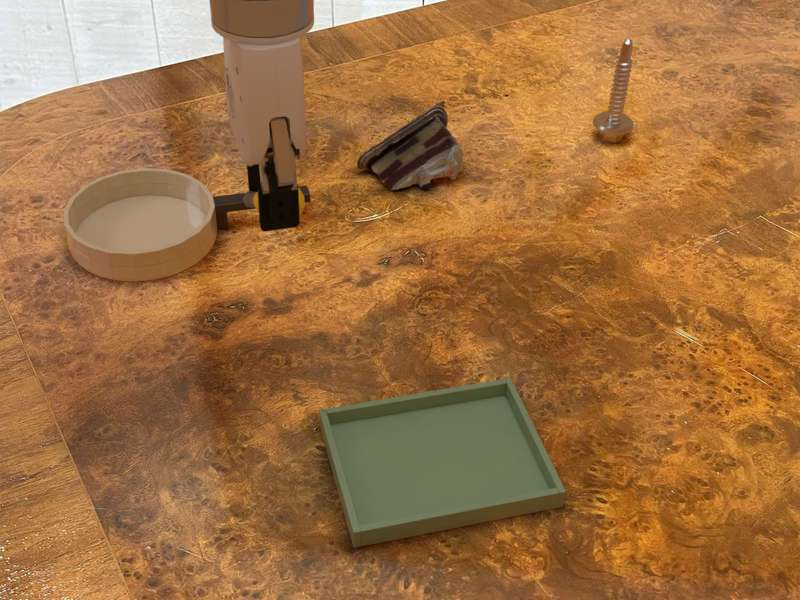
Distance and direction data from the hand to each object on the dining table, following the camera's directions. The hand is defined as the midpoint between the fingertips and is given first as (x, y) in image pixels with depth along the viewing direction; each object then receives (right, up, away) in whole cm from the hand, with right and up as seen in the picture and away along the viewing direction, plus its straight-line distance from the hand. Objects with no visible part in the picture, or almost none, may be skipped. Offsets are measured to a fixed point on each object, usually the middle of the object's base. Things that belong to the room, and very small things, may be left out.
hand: (273, 206), depth 89 cm
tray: (+14, -21, -1) cm, 25 cm away
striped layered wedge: (+12, +6, +32) cm, 35 cm away
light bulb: (0, -1, +1) cm, 1 cm away
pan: (-16, -1, +22) cm, 27 cm away
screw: (+36, +12, +40) cm, 55 cm away
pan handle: (-4, +1, +25) cm, 25 cm away
